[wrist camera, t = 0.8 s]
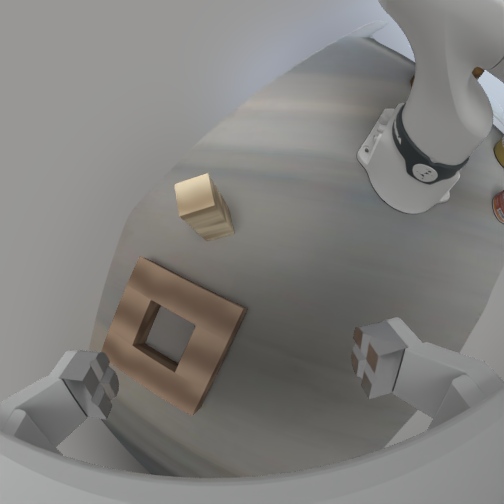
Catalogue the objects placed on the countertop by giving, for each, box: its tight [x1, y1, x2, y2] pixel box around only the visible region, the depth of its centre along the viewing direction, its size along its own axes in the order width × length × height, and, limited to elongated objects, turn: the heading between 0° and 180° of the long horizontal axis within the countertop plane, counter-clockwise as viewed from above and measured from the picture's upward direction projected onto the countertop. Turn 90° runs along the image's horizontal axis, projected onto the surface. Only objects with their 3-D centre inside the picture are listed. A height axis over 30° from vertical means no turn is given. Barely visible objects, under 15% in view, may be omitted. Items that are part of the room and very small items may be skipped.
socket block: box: [101, 256, 248, 415], centre depth 39 cm, size 18×18×4 cm
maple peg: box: [175, 173, 234, 241], centre depth 38 cm, size 4×4×12 cm
